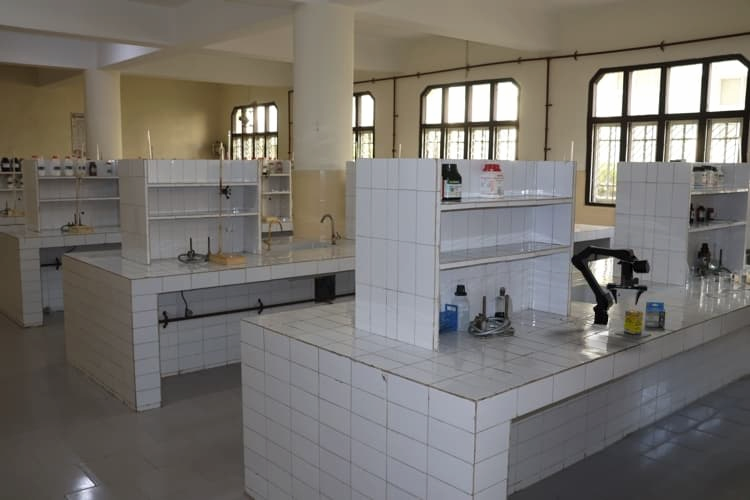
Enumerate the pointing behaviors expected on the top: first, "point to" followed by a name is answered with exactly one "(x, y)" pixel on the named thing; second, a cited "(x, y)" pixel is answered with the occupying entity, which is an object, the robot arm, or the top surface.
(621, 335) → the mat
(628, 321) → the supplement box
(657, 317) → the label tape box
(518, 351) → the top surface
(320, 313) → the top surface
